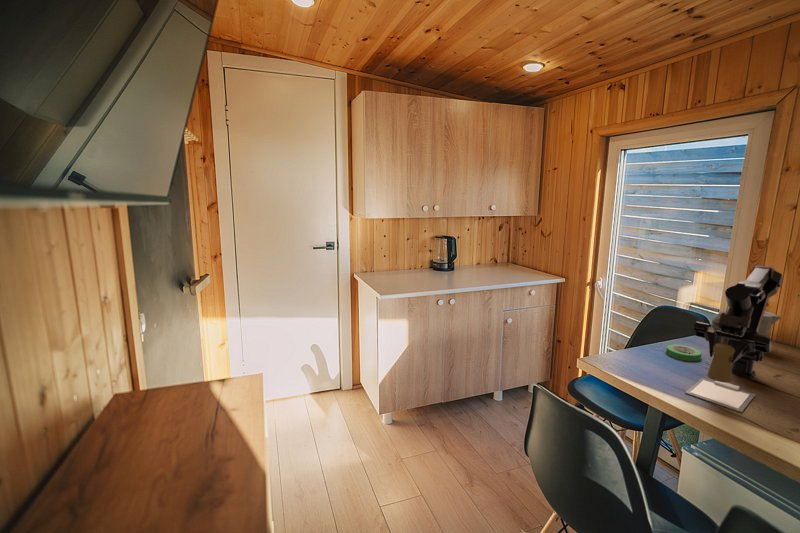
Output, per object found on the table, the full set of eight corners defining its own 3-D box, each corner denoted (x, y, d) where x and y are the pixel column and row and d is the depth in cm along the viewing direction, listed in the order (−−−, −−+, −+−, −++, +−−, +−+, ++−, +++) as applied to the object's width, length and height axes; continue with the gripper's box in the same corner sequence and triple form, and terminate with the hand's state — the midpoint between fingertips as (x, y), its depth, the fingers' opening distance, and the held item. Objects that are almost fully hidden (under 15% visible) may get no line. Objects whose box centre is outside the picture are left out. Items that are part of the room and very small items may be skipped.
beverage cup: (703, 347, 160) (710, 301, 156) (715, 344, 162) (723, 299, 158) (722, 354, 153) (730, 305, 149) (735, 351, 155) (743, 304, 151)
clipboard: (701, 378, 133) (702, 375, 133) (755, 395, 122) (755, 391, 122) (685, 393, 123) (685, 389, 123) (741, 413, 112) (742, 408, 112)
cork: (737, 381, 118) (742, 347, 116) (722, 383, 116) (727, 350, 114) (716, 372, 124) (721, 340, 121) (702, 374, 122) (707, 342, 120)
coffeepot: (775, 348, 157) (783, 306, 154) (775, 355, 151) (783, 312, 147) (726, 339, 168) (733, 299, 164) (724, 345, 161) (731, 304, 158)
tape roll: (659, 352, 155) (660, 346, 155) (677, 348, 159) (678, 342, 159) (689, 363, 145) (690, 357, 145) (706, 358, 149) (707, 352, 149)
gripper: (698, 297, 125) (681, 337, 121) (776, 311, 110) (760, 357, 106) (703, 315, 131) (687, 354, 127) (777, 331, 116) (762, 375, 112)
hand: (721, 359), depth 118 cm, fingers closed on cork, 5 cm apart
